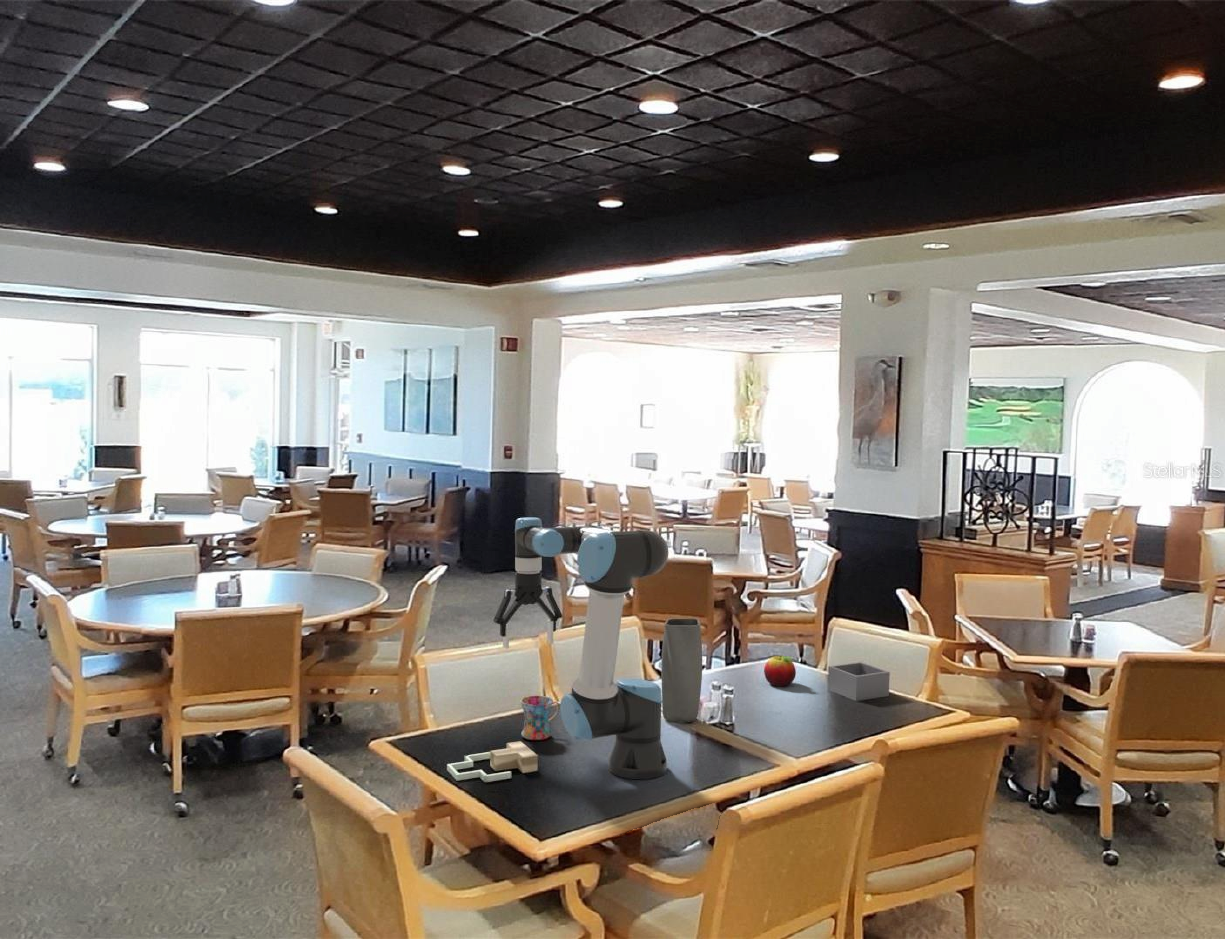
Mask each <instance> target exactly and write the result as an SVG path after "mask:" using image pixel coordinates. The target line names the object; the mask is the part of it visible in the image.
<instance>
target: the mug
mask: <svg viewBox="0 0 1225 939" xmlns="http://www.w3.org/2000/svg"><path fill="white" fill-rule="evenodd" d="M519 702H520V705H521V707H522V710H523V715H524V724H523V729H522V731H521V733H520V734H521V736H522V738H524V739H527V740H531V741H543V740H545V739H549V737H551V736H552V732H551V729H550V725H551V723H550V722H551V721H553V720H554V718H555V717H556V716H557V714H558V713H559V711H560V710H561V704H560V703H559V702H558V701H554V699H553V698H552V697H549V696H545V695H529V696H524V697H522V698H521V699H520V701H519ZM554 704H556V705H557V710H556V712H555V713H554V714H553V716H552V717H551V718H549V717H550V711H551V708H552V706H553V705H554Z"/></svg>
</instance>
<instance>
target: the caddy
mask: <svg viewBox="0 0 1225 939" xmlns="http://www.w3.org/2000/svg"><path fill="white" fill-rule="evenodd" d="M827 667H828V670H827V671H828V673H827V690H828V691H830V692H833V693H835V694H837V695H840V696H843V697H845V698H847V699H849V700H853V701H854V702H858V701H859V702H860V701H864V700H866V701H867V700H871V699H877V698H884V697H889V696H890V676H891V675H890V673H891V672H890V671H888V670H886V669H882V668H880V667H877V666H873V665H870V664H868V663H865V662H862V661H858V662H850V663H843V664H834V665H828V666H827Z"/></svg>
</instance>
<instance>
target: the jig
mask: <svg viewBox="0 0 1225 939" xmlns="http://www.w3.org/2000/svg"><path fill="white" fill-rule="evenodd" d="M463 758H464V760H463V761H460V762H455V763H454V762H452V763H447V764H446V771H447V772H448V773H449V774H450V775H451V776H452V778H454V779H455V781H463V780H469V779H470V780H471V779H474V778H480V779H481V780H482V781H483V782H484V783H491V782H494V781H495V782H497V781H502V780H507V779H512V771H509V770H508V771H504V772H503V771H502V772H497V773H491V774H487V773H486V772H485V771H483V769H477V770H472V771H465V772H458V770H463V769H470V768H474V762H477V761H482V760H490V751H487V752H482V753H481V752H480V753H475V754H474V753H473V754H469V755H464V756H463Z"/></svg>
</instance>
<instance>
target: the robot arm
mask: <svg viewBox="0 0 1225 939" xmlns="http://www.w3.org/2000/svg"><path fill="white" fill-rule="evenodd" d="M514 533H515V535H514V540H515V541H514V545H515V548H514V550H515V553H514V554H515V556H514V557H515V558H514V559H515V561H514V563H515V565H514V566H515V567H514V568H515V569H514V570H515V571H516V572H515V574H514V577H515V579H514V580H515V582H514V585H515V588H514V590H512V589H511V590H509V589H507V588H506V589H504V593H503V599H502V601H501V603H500V605H499V607H498V609H497V611H496V613H495V616H494V618H493V622H494V623H496V624H497V625H499V636H501V637H502V647H503V648H504V649H510V648H509V647H510V625H508V623H509V621H511V619H512V618H513V616H514V615H515V613H516V612H517V611H518V609H519V608H520V607H522V605H524V606H525V605H527V606H528V605H535V604H537V606H538V607H539V608H540V609H541V610H542V611H543V613H544V614H545V615H546V616H547V617H548V618H549V619H547V620H546V622H547V623H546V625H547V626H546V636H547V637H546V642H547V643H549V644H550V645H552V644H554V632H555V633H556V631H557V621H558V620H559V619H562V617H563V614H562V611H561V610H560V607H559V606H558V603H557V601H556V600H555V597H554V595H553V588H552V587H550V586H547V585H546V586H545V587H542V585H543V584H542V581H543V579H542V578H543V577H542V575H543V573H542V572H541V571H542V568H543V567H542V562H543V561H542V557H543V558H544V557H545V558H546V557H547V558H548V557H549V558H552V557H556V556H558V555H568V554H577V556H576V558H577V559H576V565H577V570H578V571H577V572H578V574H579V577H580V578H581V579H582V581H583V583H584V586H585V587H586V588H587V590H588V591H589V592H588V593H589V594H588V600H587V608H586V609H587V610H586V616H585V618H586V619H585V624H584V625H585V626H584V634H583V640H582V652H581V660H580V667H579V676H578V678H576V679H574V681H572V685H571V691H570V692H571V693H565V694H564V695H563V696H562V697H561V699H560V713H561V714H560V715H561V720H562V723H563V725H564V728H565V730H566V731H567V733H568V735H569V736H570V737H571V738H572V739H573V740H574V741H575V740H576V741H585V740H588V741H592V740H593V739H598V738H604V737H610V736H611V737H612V736H615V741H614V744H613V747H612V750H611V753H610V756H609V759H608V770H609V772H610V773H611V774H613V775H615V776H617V777H621V778H623V779H630V780H650V779H655V778H659V777H661V776H663V775H665V773H666V772H667V769H668V768H667V767H668V763H667V757H666V754H665V750H664V747H663V743H662V741H661V738H662V737H661V736H662V731H661V730H662V729H661V728H662V688H661V687H660V686H659V685H658V684H657V683H655V682H653V681H650V680H646V679H642V678H635V677H624V678H623V677H621V678H619V679H617V681H616V683H615V682H614V677H615V671H616V664H617V655H618V646H619V641H620V640H619V639H620V632H621V626H622V625H621V624H622V616H623V608H624V600H625V595H626V594H628V593H629V592H631V591H632V588H633V586H632V585H633V580H634V579H641V578H648V577H651V576H653V575H655V574H656V575H657V573H659V572H660V571H661V570H662V569H663V568H664V567H665V565H667V564H666V563H667V561H668V559H669V546H668V543H667V542H666V540H665V538H664V537H663V536H661V534H660V533H657V532H655V531H652V530H647V529H640V530H622V531H621V530H620V531H619V530H614V529H605V528H603V526H600V525H594V524H593V525H592V524H590V525H582V526H560V527H557V526H555V527H543V523H542V519H541V518H540V517H533V516H532V517H529V516H527V517H520V518H517V519H516V520H515V529H514ZM542 594H544V595H545V596H546V599H547V601H548V604H549V606H550V608H551V609H552V610H550V608H549V607H548V606H547V605H546V604H545V602H544V600H543V599H542ZM513 597H515V599H514V600H513V602H512V603H511V605H510V606H509V604H510V602H511V599H512V598H513ZM508 607H509V608H508ZM507 608H508V609H507ZM552 611H553V612H552Z"/></svg>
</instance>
